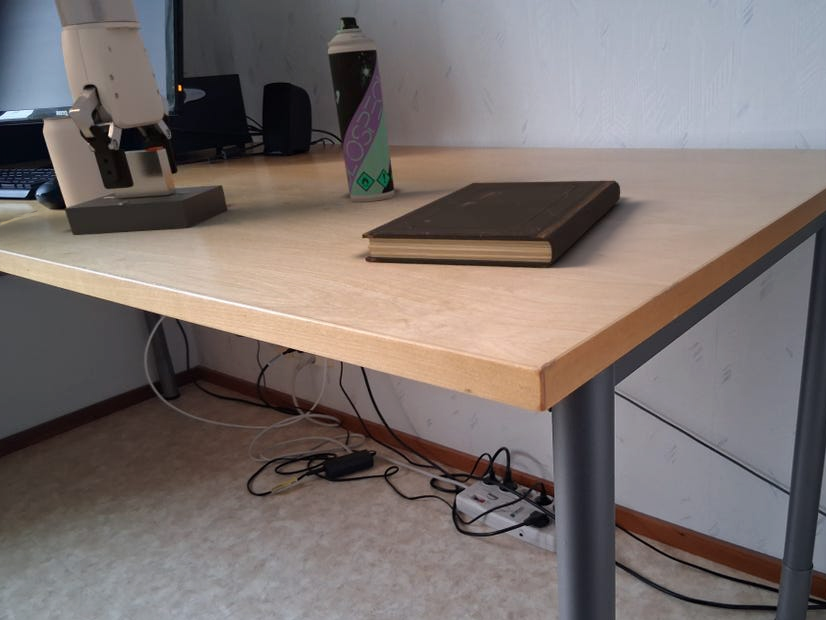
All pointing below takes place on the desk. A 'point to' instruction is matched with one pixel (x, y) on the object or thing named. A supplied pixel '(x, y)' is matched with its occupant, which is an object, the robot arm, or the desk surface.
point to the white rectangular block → (148, 174)
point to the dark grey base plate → (147, 211)
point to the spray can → (360, 113)
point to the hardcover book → (495, 224)
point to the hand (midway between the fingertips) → (143, 180)
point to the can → (73, 162)
